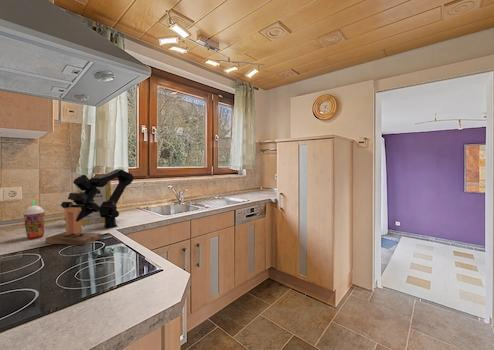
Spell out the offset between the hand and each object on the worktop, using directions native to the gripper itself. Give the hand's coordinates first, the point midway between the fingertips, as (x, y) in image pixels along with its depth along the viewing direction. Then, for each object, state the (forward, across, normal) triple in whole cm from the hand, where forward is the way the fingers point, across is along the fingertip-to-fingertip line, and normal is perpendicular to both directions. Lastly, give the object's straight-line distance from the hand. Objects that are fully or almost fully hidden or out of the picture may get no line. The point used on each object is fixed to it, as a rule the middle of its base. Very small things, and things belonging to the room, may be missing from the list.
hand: (71, 220), depth 113 cm
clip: (+4, 0, +6) cm, 7 cm away
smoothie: (+6, -25, +10) cm, 27 cm away
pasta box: (-17, -18, +32) cm, 40 cm away
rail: (+7, 0, +8) cm, 11 cm away
